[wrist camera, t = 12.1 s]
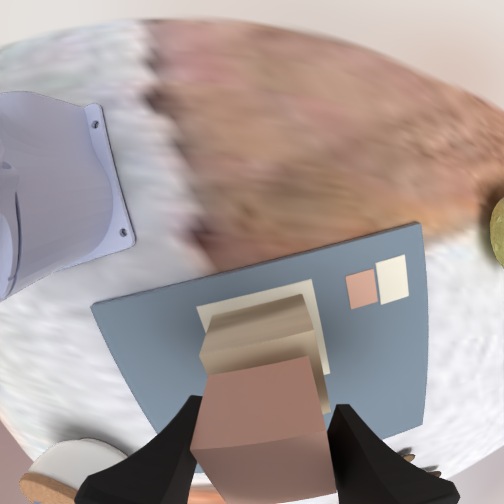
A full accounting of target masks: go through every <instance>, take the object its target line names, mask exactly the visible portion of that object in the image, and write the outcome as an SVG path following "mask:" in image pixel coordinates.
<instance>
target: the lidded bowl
mask: <svg viewBox="0 0 504 504" xmlns="http://www.w3.org/2000/svg"><path fill="white" fill-rule="evenodd" d="M126 458H128V456H127V455H126V454H124V453H123V452H122V451H120V450H119V449H117V448H115V447H114V446H112V445H110V444H108V443H105V442H103V441H100V440H97V439H92V438H83V439H80V440H68V441H63V442H60V443H57V444H55V445H53V446H51V447H49V448H48V449H47V450H46V451H44V452H43V453H42V454H41V455H40V456H39V457H38V458H37V459H36V461H35V462H34V463H33V464H32V466H31V467H30V469H29V470H28V472H27V473H25V474H24V475H23V477H22V478H21V480H20V481H19V486H20V488H21V490H22V492H23V493H24V495H25V496H26V497H27V498H28V499H29V500H30V502H31V503H32V504H33V503H34V501H38V502H40V503H42V504H75V503H74V498H75V496H76V494H77V492H78V490H79V488H80V486H81V484H82V483H83V482H84V480H85V479H86V478H87V476H88V475H91V474H94V473H97V472H99V471H102V470H104V469H107V468H109V467H111V466H113V465H115V464H117V463H119V462H120V461H122V460H124V459H126Z"/></svg>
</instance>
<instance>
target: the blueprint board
mask: <svg viewBox="0 0 504 504" xmlns="http://www.w3.org/2000/svg"><path fill="white" fill-rule="evenodd" d="M298 294H302V295H303V298H304V301H305V303H306V306H307V309H308V312H309V315H310V318H311V321H312V324H313V327H314V331H315V335H316V340H317V345H318V349H319V354H320V359H321V364H322V368H323V373H324V378H325V383H326V388H327V393H328V398H329V404H330V409H331V412H330V413H326V414H323V418H324V423H325V427H326V432H327V430H328V427H329V424H330V421H331V419H332V416H333V413H334V410H335V407H336V404H350V406H351V407H352V408H353V409H354V410H355V411H356V413H357V414H358V415H359V416H360V417H361V419H362V420H363V421H364V422H365V423H366V424H367V425H368V427H369V428H370V429H371V430H372V431H373V432H374V433H375V434H376V435H377V436H378V437H379V438H380V439H381V440H382V439H385V438H388V437H391V436H394V435H397V434H399V433H402V432H405V431H407V430H410V429H412V428H415V427H417V426H420V425H422V423H423V415H424V406H425V396H426V384H427V367H428V293H427V276H426V263H425V252H424V243H423V235H422V227H421V223H418V222H414V223H411V224H407V225H403V226H400V227H396V228H392V229H388V230H385V231H381V232H377V233H374V234H370V235H366V236H362V237H359V238H355V239H351V240H347V241H343V242H340V243H336V244H332V245H328V246H324V247H320V248H317V249H313V250H309V251H305V252H301V253H297V254H293V255H290V256H286V257H282V258H278V259H274V260H270V261H266V262H262V263H258V264H254V265H250V266H246V267H242V268H238V269H234V270H231V271H227V272H223V273H219V274H215V275H210V276H206V277H202V278H198V279H194V280H190V281H186V282H182V283H178V284H174V285H170V286H166V287H162V288H158V289H153V290H149V291H145V292H141V293H137V294H133V295H129V296H124V297H120V298H116V299H112V300H108V301H103V302H99V303H95V304H93V305H92V306H91V307H90V308H91V311H92V313H93V315H94V318H95V320H96V322H97V325H98V327H99V329H100V331H101V333H102V336H103V338H104V340H105V342H106V344H107V346H108V348H109V350H110V352H111V354H112V356H113V358H114V360H115V362H116V364H117V366H118V368H119V370H120V372H121V374H122V376H123V377H124V379H125V381H126V383H127V385H128V387H129V388H130V390H131V392H132V394H133V395H134V397H135V399H136V401H137V402H138V404H139V406H140V407H141V409H142V411H143V412H144V414H145V416H146V417H147V419H148V420H149V422H150V424H151V425H152V427H153V428H154V430H155V431H156V433H157V434H159V433H160V432H161V431H162V430H163V429H164V428H165V427H166V426H167V425H168V423H169V422H170V421H171V420H172V419H173V418H174V417H175V415H176V414H177V413H178V412H179V410H180V409H181V408H182V406H183V405H184V404H185V402H186V401H187V399H188V398H189V396H191V395H197V396H203V394H204V390H205V386H206V382H207V378H208V375H207V373H206V371H205V369H204V366H203V364H202V362H201V359H200V357H199V354H200V351H201V348H202V345H203V342H204V339H205V336H206V333H207V330H208V327H209V324H210V321H211V318H212V315H217V314H221V313H225V312H230V311H234V310H238V309H243V308H247V307H251V306H255V305H259V304H263V303H267V302H271V301H275V300H279V299H283V298H287V297H291V296H294V295H298ZM194 473H205V472H204V471H203V469H202V468H201V466H200V465H199V463H198V462H197V466H196V469H195V472H194Z"/></svg>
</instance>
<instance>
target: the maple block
mask: <svg viewBox="0 0 504 504" xmlns="http://www.w3.org/2000/svg"><path fill="white" fill-rule="evenodd" d="M305 356H309V359H310V363H311V368H312V372H313V376H314V380H315V384H316V388H317V393H318V397H319V401H320V405H321V410H322V414H326V413H330V412H331V409H330V404H329V398H328V393H327V388H326V383H325V378H324V373H323V368H322V364H321V359H320V354H319V349H318V345H317V340H316V335H315V331H314V327H313V324H312V321H311V318H310V315H309V312H308V309H307V306H306V303H305V301H304V298H303V295H302V294H298V295H294V296H291V297H287V298H283V299H279V300H275V301H271V302H267V303H263V304H259V305H255V306H251V307H247V308H243V309H238V310H234V311H230V312H225V313H221V314H217V315H212V318H211V321H210V324H209V327H208V330H207V333H206V336H205V339H204V342H203V345H202V348H201V351H200V354H199V357H200V359H201V362H202V364H203V366H204V369H205V371H206V373H207V375H214V374H220V373H226V372H232V371H238V370H243V369H249V368H254V367H259V366H264V365H269V364H274V363H279V362H283V361H288V360H292V359H297V358H301V357H305Z"/></svg>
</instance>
